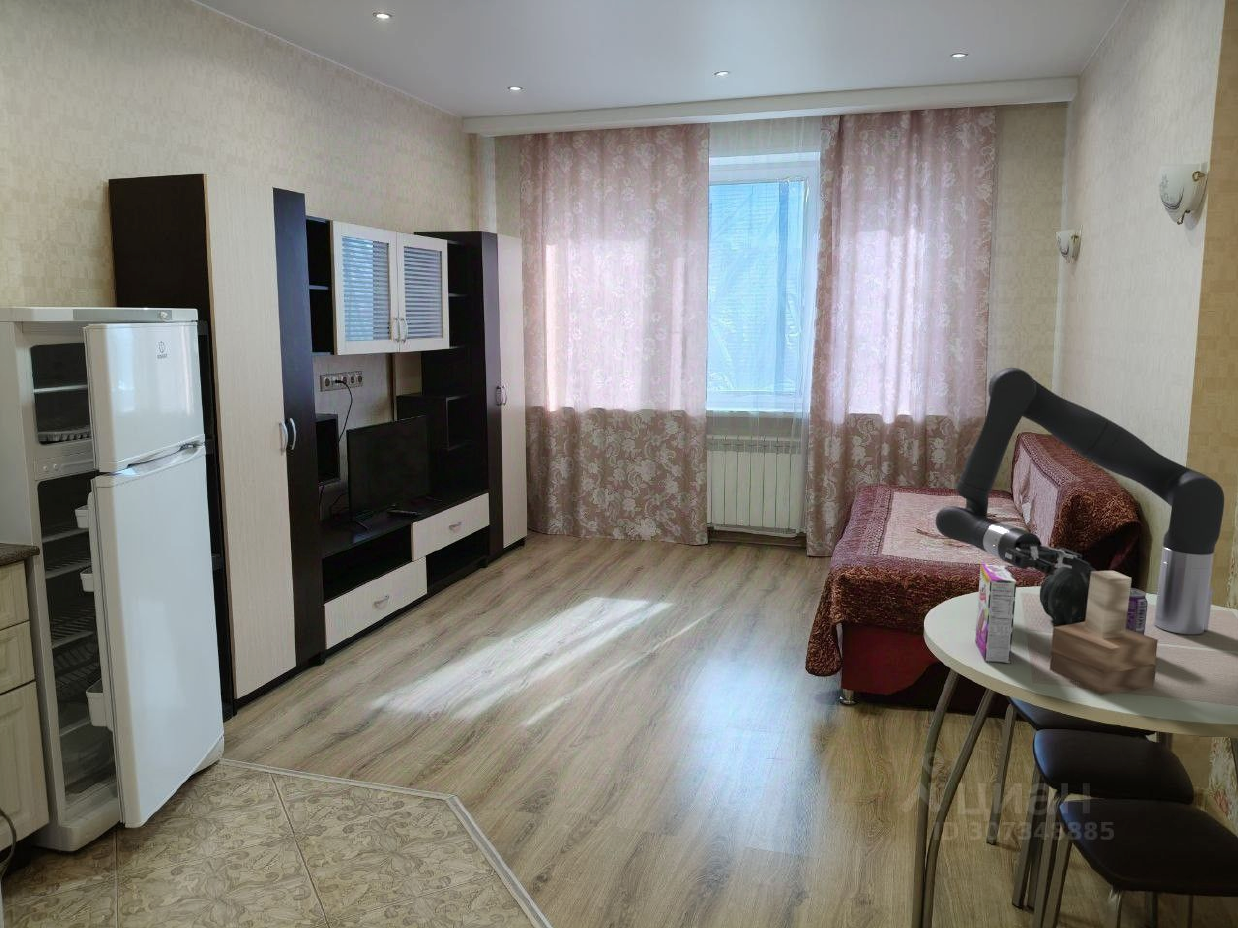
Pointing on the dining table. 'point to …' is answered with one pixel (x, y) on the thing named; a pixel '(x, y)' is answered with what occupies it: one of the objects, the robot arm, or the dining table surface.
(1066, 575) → the squash
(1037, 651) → the dining table surface
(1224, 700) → the dining table surface
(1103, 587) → the birch block
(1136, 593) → the beverage can
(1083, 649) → the upper slab
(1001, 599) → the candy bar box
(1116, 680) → the lower slab
